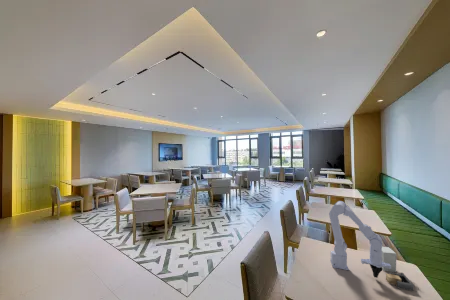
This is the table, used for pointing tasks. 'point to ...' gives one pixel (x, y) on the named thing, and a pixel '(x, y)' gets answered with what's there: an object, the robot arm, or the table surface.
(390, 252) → the supplement box
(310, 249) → the table surface
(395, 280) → the tan block
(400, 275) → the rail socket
